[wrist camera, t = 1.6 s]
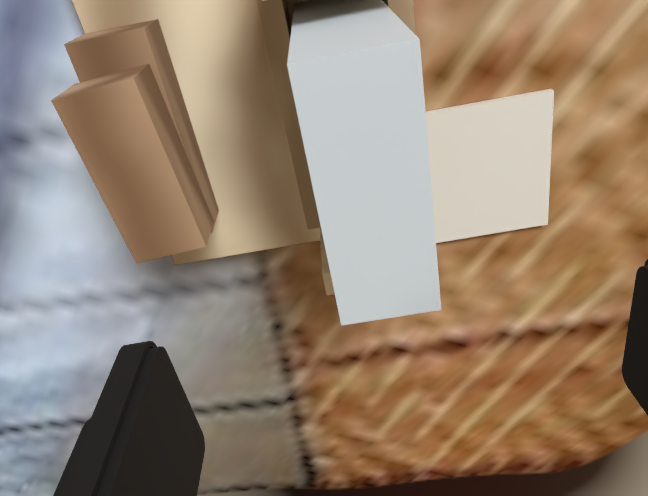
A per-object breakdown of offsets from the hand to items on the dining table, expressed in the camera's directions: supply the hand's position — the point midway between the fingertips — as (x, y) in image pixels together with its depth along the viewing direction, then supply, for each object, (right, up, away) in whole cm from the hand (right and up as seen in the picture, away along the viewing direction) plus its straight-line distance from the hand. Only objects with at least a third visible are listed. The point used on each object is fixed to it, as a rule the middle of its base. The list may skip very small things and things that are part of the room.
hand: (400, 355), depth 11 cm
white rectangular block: (0, +10, +16) cm, 19 cm away
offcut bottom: (-10, +8, +16) cm, 21 cm away
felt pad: (+8, +7, +19) cm, 22 cm away
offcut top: (-10, +6, +15) cm, 19 cm away
